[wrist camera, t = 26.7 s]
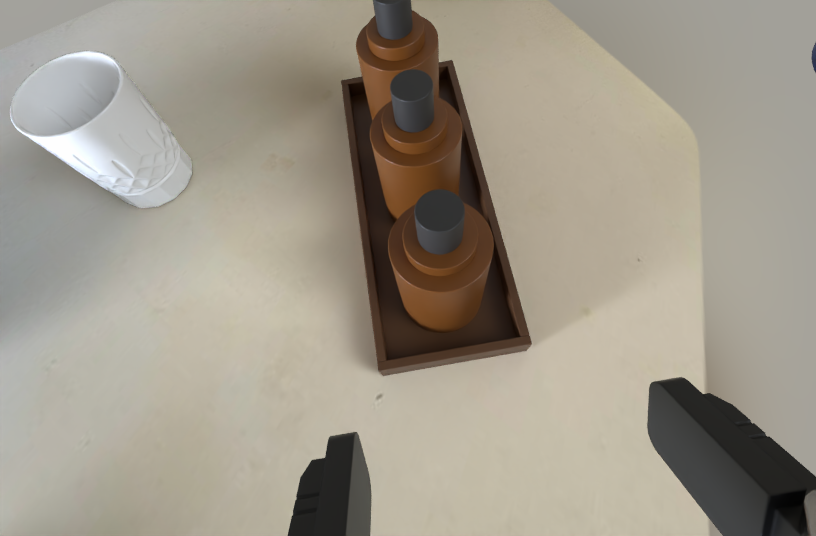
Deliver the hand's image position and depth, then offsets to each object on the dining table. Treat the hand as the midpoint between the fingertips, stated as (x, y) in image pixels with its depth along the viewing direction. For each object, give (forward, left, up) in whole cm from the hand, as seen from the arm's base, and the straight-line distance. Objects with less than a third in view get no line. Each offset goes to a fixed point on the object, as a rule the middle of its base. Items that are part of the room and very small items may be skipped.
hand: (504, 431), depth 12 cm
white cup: (+30, -17, -18) cm, 39 cm away
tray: (+6, -17, -18) cm, 25 cm away
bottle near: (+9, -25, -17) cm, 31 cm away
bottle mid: (+6, -17, -17) cm, 25 cm away
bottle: (+3, -10, -17) cm, 20 cm away
